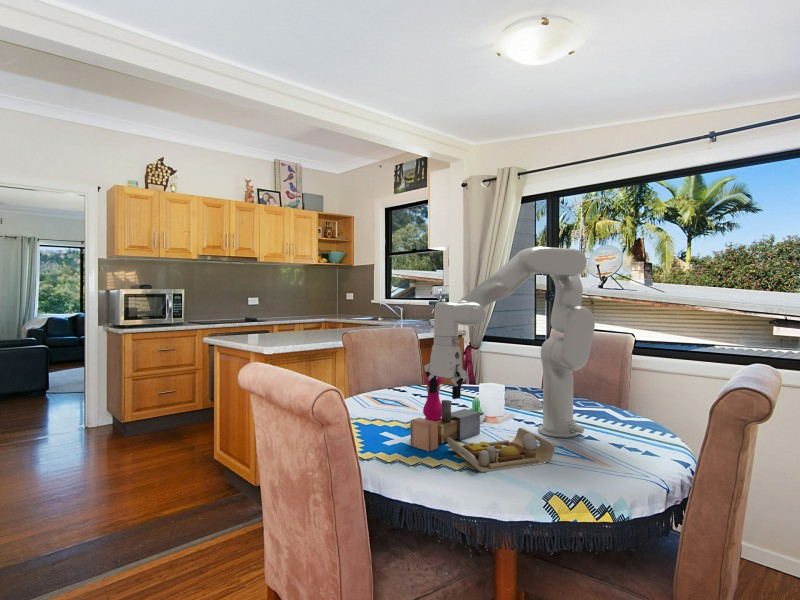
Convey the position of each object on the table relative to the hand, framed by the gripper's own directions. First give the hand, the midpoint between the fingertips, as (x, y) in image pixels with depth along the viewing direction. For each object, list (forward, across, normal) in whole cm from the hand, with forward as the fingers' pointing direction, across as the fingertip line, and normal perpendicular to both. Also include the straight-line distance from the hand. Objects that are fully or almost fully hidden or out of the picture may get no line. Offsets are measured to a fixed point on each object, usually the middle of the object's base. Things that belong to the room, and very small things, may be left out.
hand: (444, 395), depth 149 cm
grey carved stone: (+14, +10, -58) cm, 60 cm away
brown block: (+14, 0, +9) cm, 17 cm away
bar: (+14, -1, -4) cm, 14 cm away
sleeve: (+14, -1, -9) cm, 16 cm away
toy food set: (+14, -20, -1) cm, 25 cm away
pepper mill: (+14, +14, -11) cm, 23 cm away
